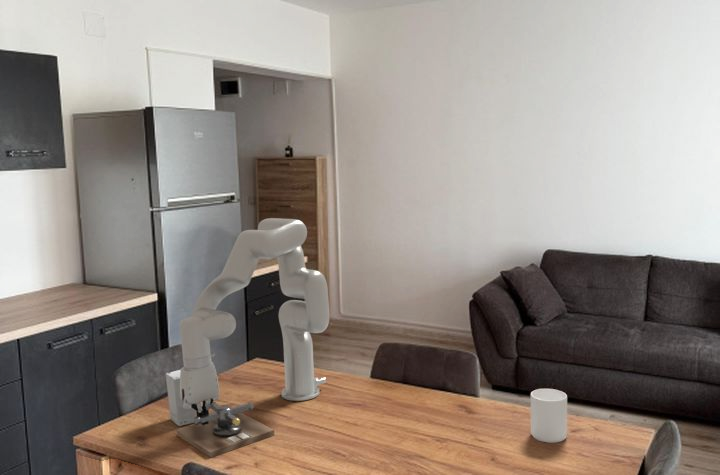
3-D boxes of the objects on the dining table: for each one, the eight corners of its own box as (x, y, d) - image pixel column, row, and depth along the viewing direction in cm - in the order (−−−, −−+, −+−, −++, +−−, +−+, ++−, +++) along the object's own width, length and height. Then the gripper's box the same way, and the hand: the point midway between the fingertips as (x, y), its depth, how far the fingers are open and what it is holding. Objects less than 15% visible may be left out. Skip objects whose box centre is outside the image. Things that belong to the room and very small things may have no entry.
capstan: (182, 427, 191) (181, 407, 190) (240, 411, 201) (239, 392, 200) (207, 449, 176) (205, 426, 175) (268, 430, 186) (267, 409, 186)
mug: (530, 441, 177) (529, 399, 176) (532, 424, 189) (531, 384, 187) (567, 445, 174) (567, 402, 173) (566, 426, 186) (566, 386, 184)
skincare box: (197, 422, 199) (193, 374, 197) (177, 427, 196) (173, 379, 194) (187, 414, 206) (184, 367, 204) (168, 418, 202) (164, 371, 201)
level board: (238, 415, 203) (238, 410, 203) (274, 435, 188) (274, 429, 187) (177, 435, 190) (176, 429, 190) (210, 457, 175) (210, 451, 175)
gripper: (215, 351, 192) (220, 411, 195) (166, 365, 183) (173, 427, 185) (227, 357, 186) (233, 418, 189) (178, 371, 177) (184, 436, 180)
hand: (203, 423), depth 187 cm, fingers closed
